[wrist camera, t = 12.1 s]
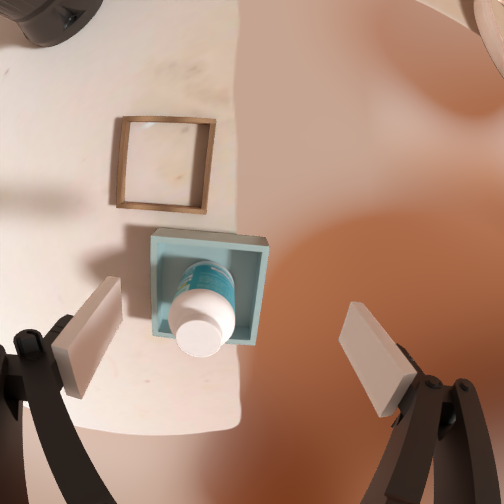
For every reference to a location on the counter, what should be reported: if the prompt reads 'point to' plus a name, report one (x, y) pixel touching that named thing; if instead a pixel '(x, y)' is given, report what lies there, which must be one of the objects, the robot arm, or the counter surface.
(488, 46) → the white hollow ring
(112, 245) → the counter surface
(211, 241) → the bin
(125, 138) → the frame
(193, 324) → the pill bottle
